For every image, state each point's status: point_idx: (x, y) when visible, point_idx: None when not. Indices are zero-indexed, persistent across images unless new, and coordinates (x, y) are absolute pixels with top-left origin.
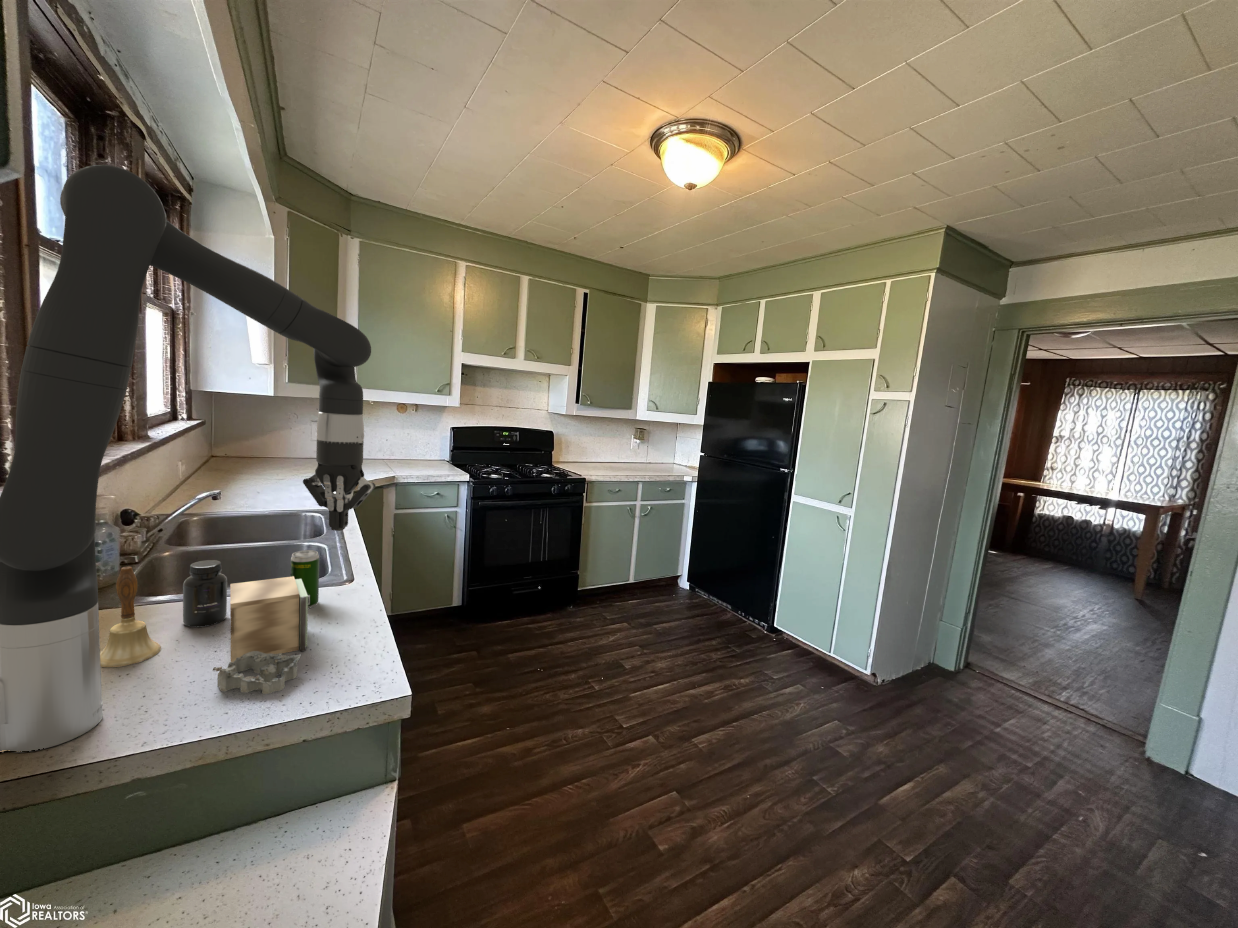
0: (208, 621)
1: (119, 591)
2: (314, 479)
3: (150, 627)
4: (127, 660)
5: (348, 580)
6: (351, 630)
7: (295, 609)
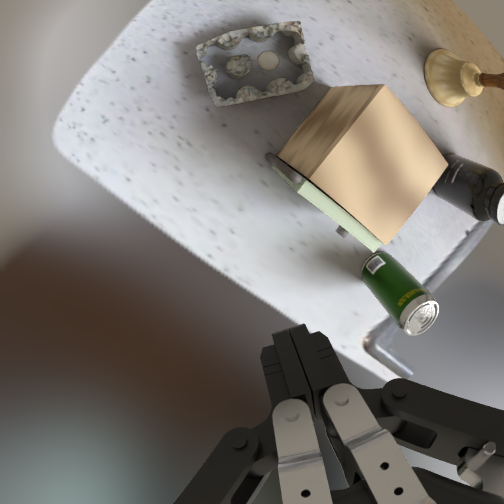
0: None
1: None
2: (494, 469)
3: (476, 140)
4: (432, 57)
5: (370, 345)
6: (252, 241)
7: (301, 165)
